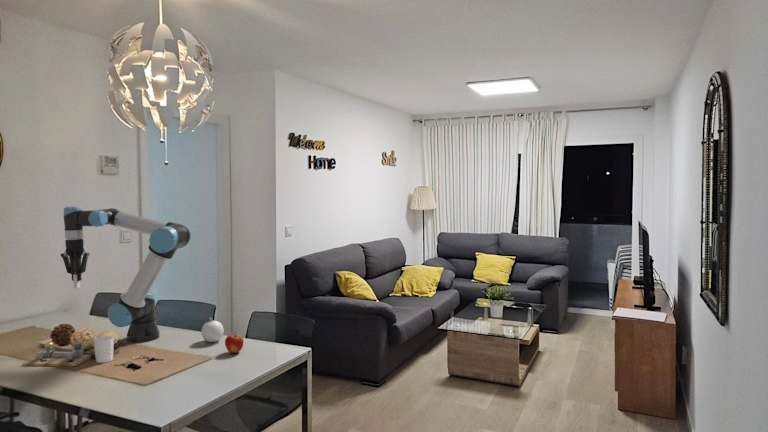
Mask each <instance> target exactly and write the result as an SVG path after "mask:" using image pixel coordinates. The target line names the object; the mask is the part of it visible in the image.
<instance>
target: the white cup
mask: <svg viewBox="0 0 768 432" xmlns="http://www.w3.org/2000/svg"><path fill="white" fill-rule="evenodd" d="M114 339H115V338H114V336H113V335H101V336H98V337H95V338H93V349H94V356H95V362H96V363H97V364H98V363H99V364H103V363H109V362H111V361H113V360H114V347H115V346H114V345H115V344H114V342H115V341H114Z"/></svg>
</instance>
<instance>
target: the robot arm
mask: <svg viewBox="0 0 768 432" xmlns="http://www.w3.org/2000/svg"><path fill="white" fill-rule="evenodd" d="M62 217H63V223H64V224H63V225H64V239H65V240H64V243H65V251H64V252H63V253H60V257H61V258H62V260H63V263H64V264H63V265H64V267H65V271H66V273H67V274H70V275H71V281H72V282H73V288H74V289H79V288H81V281H82V274H83V273H85V272H86V269H87V263H88V258H89V256H90V252H86V250H85V248H84V246H85V244H84V243H85V242H84V232H83V231H84V230H83V227H95V228H97V227H104V226H105V225H111V226H115V227H119V228H122V229H126V230H130V231H133V232H138V233H142V234H146V235H149V238H148V239H149V240H148V241H149V245H148V251H149V252H148V254H147V256H146V257H145V259H144V261H143V262H142V264H141V266H140V268H139V270H138V271H137V273H136V275H135V276H134V278H133V279H132V280H133V281H132V282H130V283H131V284H130V285H129V287H128V288H127V290H126V291H125V292H123V293H121V294H120V296H119V298H118V299H117V301H116V303H115V302H114V303H113V304H112V305H110V306H109V308H108V309H107V317H108V320H109V322H110V323H111V324H112V325H114V326H115V327H117V328H125V327H128V326H129V327H128V330H127V334H126V341H128V342H131V343H143V342H144V343H145V342H149V341H154V340H157V339H159V338H160V334H161V333H160V329H159V327H158V324H157V322H156V297H155V294H154V292H150V290H151V288H152V287H153V286H154V283H155V282H156V280H157V278H158V277H159V274H160V273H161V271H162V269H163V268H164V266H165V264H166V262H167V261H168V260H171V259H173V257H174V256H175V254H176V252H177V251H178V249H181V248H184V247H187V245H188V244H189V243H190V240H191V232H190V230H189V228H188V227H187V226H185V225H183V224H181V223H175V222H173V221H172V222H171V221H168V222H164V221H159V220H155V219H153V218H148V217H144V216H141V215H140V216H139V215H135V214H132V213H129V212H124V211H121V210H120V209H119V208H114V207H113V208H110V207H109V208H107V209H105V208H104V209H96V210H95V209H94V210H83V208H82V207H81V206H78V205H77V206H76V205H74V206H65V207H64V208H63V216H62Z"/></svg>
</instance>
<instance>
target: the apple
mask: <svg viewBox="0 0 768 432" xmlns="http://www.w3.org/2000/svg"><path fill="white" fill-rule="evenodd" d="M236 333H237V332H236V331H235V332H234V333H233V334H230V335H228V336H226V337H225V339H224V345H225V348H226V350H227V352H229V353H230V354H236V353H239V352H240V351H241V350H242V349H243V346H244V339H243V337H242V336H241V335H240V334H239V333H238V334H236Z"/></svg>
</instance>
